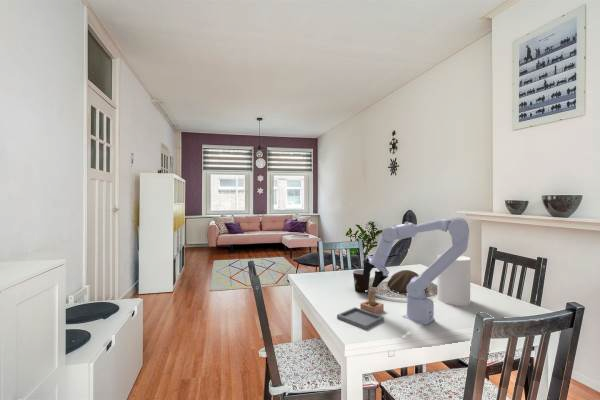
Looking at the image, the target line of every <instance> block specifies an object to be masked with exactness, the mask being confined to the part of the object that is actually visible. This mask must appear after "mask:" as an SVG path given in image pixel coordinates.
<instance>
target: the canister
mask: <svg viewBox="0 0 600 400" xmlns="http://www.w3.org/2000/svg"><path fill="white" fill-rule="evenodd" d="M442 254H443V253H440V254H438V255H437V258H438V257H440V256H441V255H442ZM436 279H437V294H436V296H437V300H438V301H440V302H441V303H444V304H446V305H452V306H459V307H460V306H462V307H463V306H469V305H470V304H471V258H470V257H469V256H465V255H463V254H462V255H461V256H460V257H458V258H457V259H456V260H455V261H454V262H453V263H452V264H451V265H450V266H449V267H447V268H446V269H445V270H444V271H443V272H442V273H441V274H440V275H439V276H438V277H437V278H436Z"/></svg>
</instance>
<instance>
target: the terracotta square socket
mask: <svg viewBox="0 0 600 400" xmlns="http://www.w3.org/2000/svg"><path fill="white" fill-rule="evenodd" d="M359 307H360V308H359V309H362V310H365V311H368V312H371V313H374V314H377V315H378V314H380V313H381V312H383V311H384V303H382V302H378V301H375V306H374V307H372V306H369V299H368V300H366V301H364V302H361V303H360V305H359Z"/></svg>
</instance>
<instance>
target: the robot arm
mask: <svg viewBox="0 0 600 400" xmlns="http://www.w3.org/2000/svg"><path fill="white" fill-rule="evenodd" d="M436 230H439V231H442V232H444V233H447V231H448V232H449V235H450V236H451V245H450V246H449V247H448V248H447V249H446V250H445V251H444V252H443V253H441V254H442V255H441V254H440V255H441V256H440V257H438V256H437V258H436V259H435V260H434V261H433V262H432V263H431V264H430V265H429V266H427V268H426V269H424V270H423V271H422V272H420V273H419V274H418V276H415V277H413V278H412V279H411V281H410V283H409V284H408V285H407V287H406V290H407V294H406V314H404V315H403V316H402V318H404V319H408V320H410V321H414V322H417V323H419V324H421V325H424V326H425V325H426V326H427V325H428V324H430V323H431V322H432V321H434V320H435V317H434V307H435V305H434V301H433V299H430V298H429V297H427V294H426V292H424V290H425V289H426V288H427V289H428V287H429V286H430V285H431V284H432V282H433V281H434V280H436V279H437V277H438V276H439V275H440V274H441V273H442V272H443V271H444V270H445V269H446V268H447V267H449V266H450V265H451V264H452V263H453V262H454V261H455V260H456V259H457V258H458V257H460V256H461V255H462V256H463V254H464V253H466V251H467V249H468V245H469V244H468V243H469V238H470V237H469V236H470V227H469V223H468V222H467V220H466V219H465V218H462V217H453V218H452V217H451V218H449V217H447V218H441V219H435V220H432V221H426V222H423V223H418V224H415V223H413V222H409V221H405V222H404V223H401V224H397V225H396V224H393V225H392V226H388V227H386V228H383V230H382V231H381V236H380V239H379V240H378V242H377V245H376V248H375V250H374V252H373V255H371V254H366V255H365V259H363V261H362V263H363V269H362V270H363V277H366V278H367V277H368V276H369V274H370V275H371V271H373V268H374V267H375V268H376V269H377V270H378V271H377V270H375V271H374V278H373V282H372V284H371V287H372V288H378V287H379V285H380V284H381V283H382V282H383V281H384V280H385V279H387V278H389V275H390V271H389V270H388V269H387V267H386V266H385V265H386V262H387V259H388V258H389V255H390V253H391V250H393V245H394V244H395V243H394V242H395V241H396V240H403V239H410V238H413V237H416V236H417V234H418V233H422V232H423V233H425V232H431V231H436Z"/></svg>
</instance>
